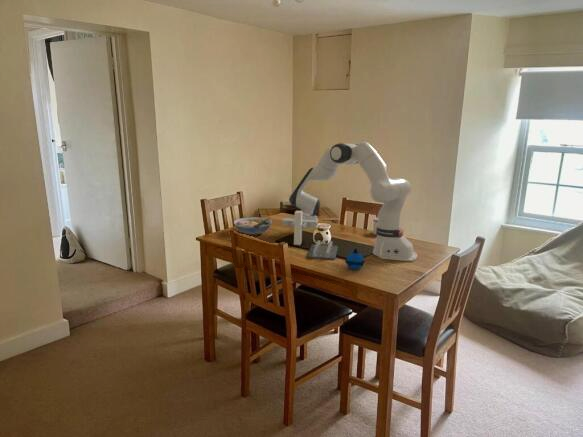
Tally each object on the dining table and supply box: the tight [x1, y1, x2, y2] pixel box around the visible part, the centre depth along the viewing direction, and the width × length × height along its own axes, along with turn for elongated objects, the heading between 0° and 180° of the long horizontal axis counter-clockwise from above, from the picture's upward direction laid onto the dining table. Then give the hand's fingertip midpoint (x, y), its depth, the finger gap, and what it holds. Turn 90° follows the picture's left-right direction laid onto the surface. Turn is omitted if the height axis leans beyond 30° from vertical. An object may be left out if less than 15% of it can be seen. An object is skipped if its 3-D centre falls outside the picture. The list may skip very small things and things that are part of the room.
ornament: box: [345, 248, 365, 271], centre depth 202 cm, size 9×9×10 cm
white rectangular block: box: [293, 210, 303, 246], centre depth 239 cm, size 5×4×18 cm
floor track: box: [306, 239, 339, 261], centre depth 226 cm, size 20×14×4 cm
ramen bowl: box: [233, 216, 273, 236], centre depth 258 cm, size 25×23×8 cm
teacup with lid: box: [372, 216, 378, 236], centre depth 263 cm, size 12×9×12 cm
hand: (298, 226), depth 238 cm, fingers closed on white rectangular block, 3 cm apart
